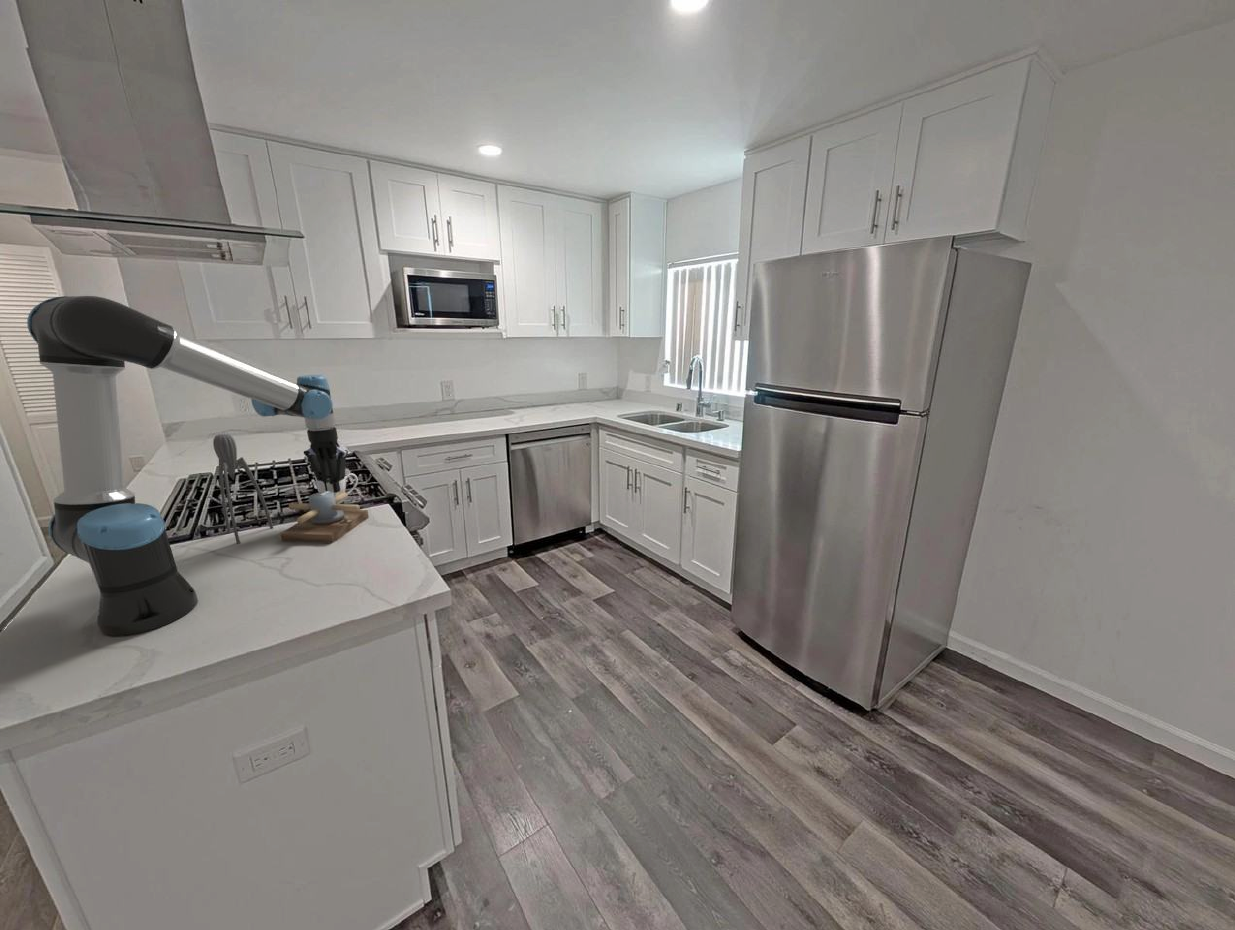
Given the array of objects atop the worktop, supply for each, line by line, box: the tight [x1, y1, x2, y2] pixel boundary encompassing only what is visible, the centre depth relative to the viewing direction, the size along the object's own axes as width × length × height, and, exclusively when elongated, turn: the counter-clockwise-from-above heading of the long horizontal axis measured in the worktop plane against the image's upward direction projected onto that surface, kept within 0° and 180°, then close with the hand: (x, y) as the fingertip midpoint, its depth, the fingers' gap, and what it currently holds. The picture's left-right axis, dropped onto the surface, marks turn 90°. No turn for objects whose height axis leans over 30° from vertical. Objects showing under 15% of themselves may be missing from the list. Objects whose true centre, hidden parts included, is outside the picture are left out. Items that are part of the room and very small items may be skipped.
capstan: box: [288, 491, 361, 525], centre depth 141 cm, size 21×21×8 cm
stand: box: [279, 509, 369, 544], centre depth 142 cm, size 18×15×4 cm
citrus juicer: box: [212, 433, 274, 545], centre depth 135 cm, size 11×10×30 cm
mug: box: [314, 472, 359, 504], centre depth 161 cm, size 12×8×11 cm
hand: (335, 501), depth 149 cm, fingers closed
